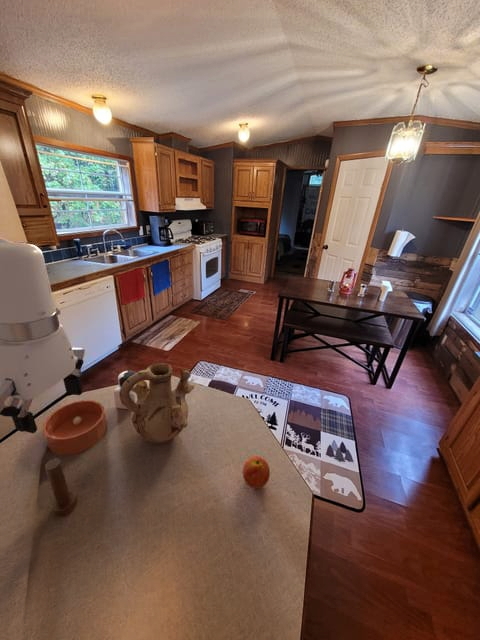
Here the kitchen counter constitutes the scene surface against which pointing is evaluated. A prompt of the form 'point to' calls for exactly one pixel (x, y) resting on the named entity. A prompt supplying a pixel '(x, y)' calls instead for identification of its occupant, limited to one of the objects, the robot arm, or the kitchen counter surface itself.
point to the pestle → (60, 489)
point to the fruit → (256, 472)
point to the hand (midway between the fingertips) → (53, 410)
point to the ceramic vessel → (157, 402)
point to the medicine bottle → (121, 380)
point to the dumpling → (77, 420)
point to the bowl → (75, 427)
